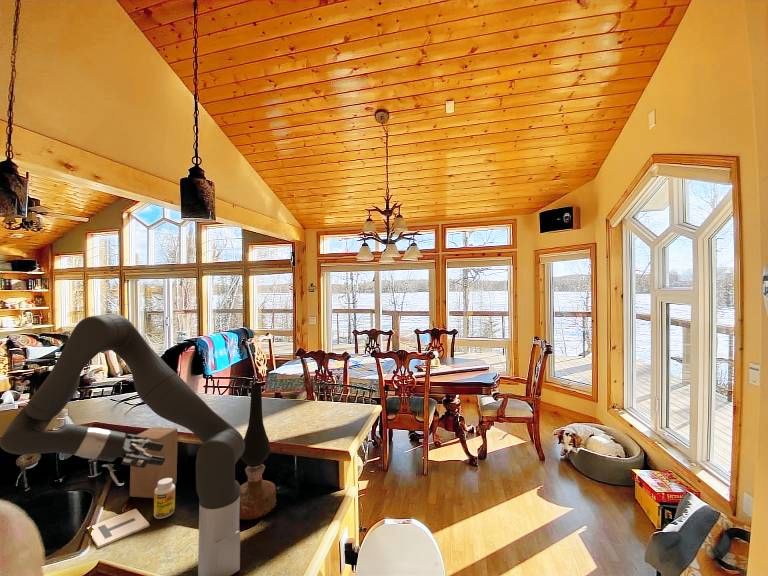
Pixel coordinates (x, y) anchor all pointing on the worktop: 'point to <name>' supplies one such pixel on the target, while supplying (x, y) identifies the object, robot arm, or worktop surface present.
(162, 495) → the supplement bottle
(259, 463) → the oil lamp
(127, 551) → the worktop surface
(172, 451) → the wooden block
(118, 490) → the worktop surface
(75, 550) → the worktop surface
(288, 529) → the worktop surface
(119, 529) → the letter board
